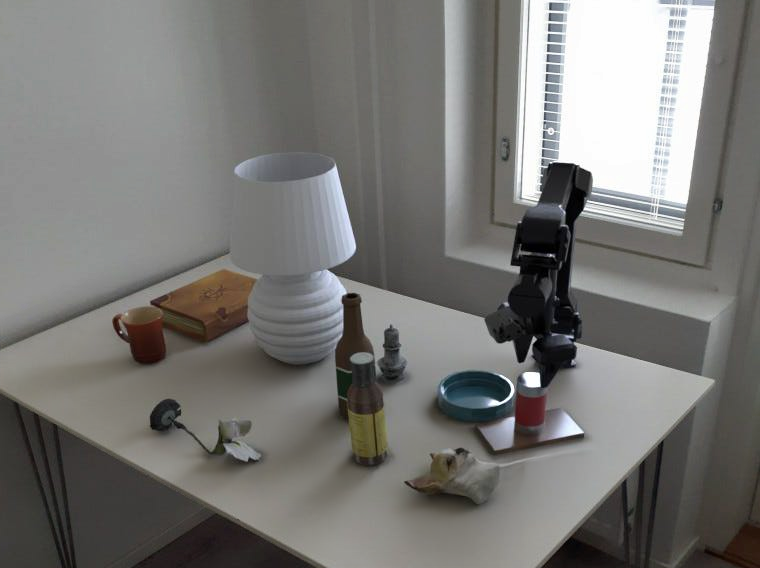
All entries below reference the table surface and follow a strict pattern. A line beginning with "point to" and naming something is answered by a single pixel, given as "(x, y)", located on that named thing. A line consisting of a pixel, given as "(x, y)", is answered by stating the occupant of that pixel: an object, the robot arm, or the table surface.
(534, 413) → the can
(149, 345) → the mug
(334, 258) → the table lamp
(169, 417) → the artificial flower
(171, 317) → the diary
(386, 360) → the grey tall rounded piece
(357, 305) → the beer bottle
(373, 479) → the table surface
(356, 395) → the sauce bottle
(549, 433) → the board
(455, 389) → the dish
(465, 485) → the ceramic sculpture
